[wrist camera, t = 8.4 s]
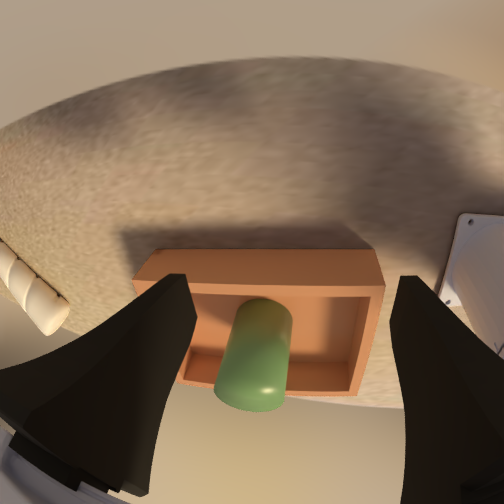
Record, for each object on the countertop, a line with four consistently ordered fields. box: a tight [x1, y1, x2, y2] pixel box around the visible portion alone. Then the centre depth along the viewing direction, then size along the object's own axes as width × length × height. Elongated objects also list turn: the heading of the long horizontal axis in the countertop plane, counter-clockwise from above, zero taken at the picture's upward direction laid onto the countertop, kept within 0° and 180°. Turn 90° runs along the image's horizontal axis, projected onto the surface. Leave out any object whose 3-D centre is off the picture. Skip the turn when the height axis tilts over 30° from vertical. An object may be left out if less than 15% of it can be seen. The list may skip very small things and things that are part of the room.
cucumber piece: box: [214, 299, 293, 412], centre depth 20 cm, size 4×4×7 cm
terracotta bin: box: [132, 249, 386, 396], centre depth 22 cm, size 16×12×4 cm
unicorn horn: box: [0, 239, 70, 336], centre depth 25 cm, size 5×24×5 cm, turn 47°
